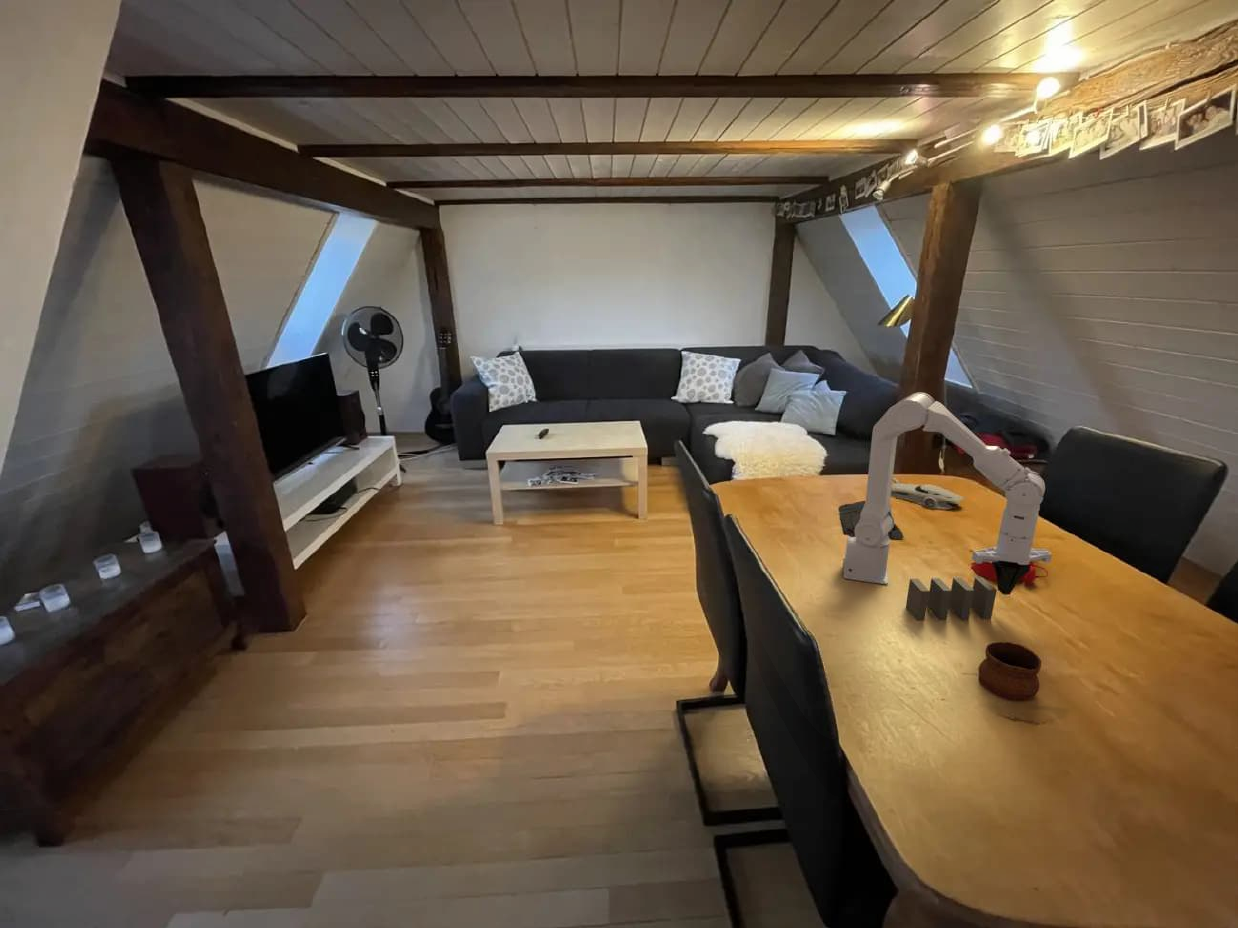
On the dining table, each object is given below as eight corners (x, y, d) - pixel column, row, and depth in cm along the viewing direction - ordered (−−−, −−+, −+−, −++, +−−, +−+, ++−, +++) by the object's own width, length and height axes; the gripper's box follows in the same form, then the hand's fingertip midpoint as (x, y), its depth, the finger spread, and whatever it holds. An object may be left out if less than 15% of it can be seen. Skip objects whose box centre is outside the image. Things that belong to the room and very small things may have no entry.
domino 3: (982, 619, 118) (988, 589, 116) (969, 606, 123) (974, 577, 120) (990, 619, 118) (996, 589, 116) (976, 606, 123) (982, 577, 120)
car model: (885, 485, 191) (887, 471, 190) (966, 504, 174) (969, 488, 173) (871, 494, 184) (873, 479, 182) (954, 515, 167) (956, 499, 166)
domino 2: (960, 620, 118) (966, 590, 116) (948, 606, 123) (953, 577, 120) (968, 619, 118) (974, 590, 116) (955, 606, 123) (960, 577, 120)
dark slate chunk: (890, 511, 172) (892, 496, 170) (904, 543, 151) (907, 527, 150) (835, 507, 175) (837, 492, 174) (843, 538, 155) (844, 522, 154)
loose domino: (916, 620, 118) (921, 591, 116) (905, 607, 123) (910, 578, 121) (924, 620, 118) (929, 591, 116) (913, 607, 123) (917, 578, 121)
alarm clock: (967, 544, 141) (1042, 543, 134) (970, 567, 143) (1044, 567, 135) (970, 563, 133) (1050, 562, 125) (973, 588, 134) (1052, 588, 127)
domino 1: (938, 620, 118) (943, 590, 116) (926, 606, 123) (931, 578, 121) (946, 620, 118) (951, 590, 116) (934, 606, 123) (939, 577, 121)
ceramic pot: (1078, 740, 88) (1088, 702, 86) (946, 703, 96) (952, 668, 94) (1061, 672, 103) (1069, 639, 101) (948, 646, 111) (953, 614, 109)
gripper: (991, 542, 111) (979, 603, 115) (1068, 540, 110) (1053, 601, 114) (971, 526, 117) (960, 584, 122) (1043, 525, 117) (1029, 583, 121)
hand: (1003, 591), depth 118 cm, fingers closed
